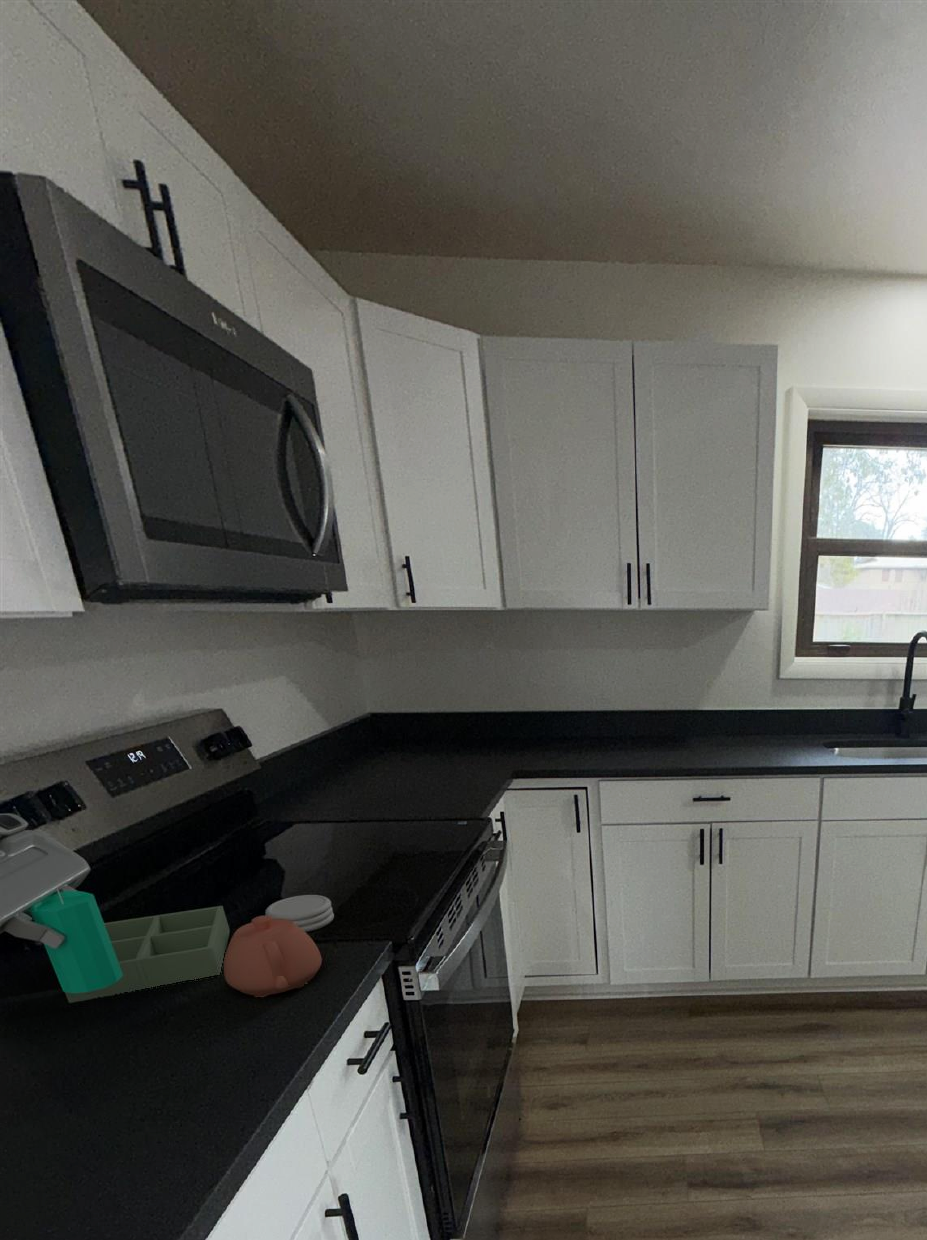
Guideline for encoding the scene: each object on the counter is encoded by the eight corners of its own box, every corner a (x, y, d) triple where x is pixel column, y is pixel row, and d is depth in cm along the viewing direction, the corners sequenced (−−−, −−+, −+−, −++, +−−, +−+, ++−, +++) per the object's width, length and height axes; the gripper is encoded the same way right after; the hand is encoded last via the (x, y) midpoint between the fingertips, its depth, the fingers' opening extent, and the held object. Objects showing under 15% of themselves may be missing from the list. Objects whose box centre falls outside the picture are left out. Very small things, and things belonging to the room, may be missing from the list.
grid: (69, 1003, 103) (57, 973, 101) (97, 952, 117) (87, 925, 116) (220, 975, 110) (212, 947, 108) (229, 931, 125) (222, 905, 123)
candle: (67, 976, 91) (30, 883, 86) (127, 965, 93) (94, 875, 88) (56, 997, 86) (15, 901, 81) (119, 986, 88) (84, 891, 83)
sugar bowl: (316, 956, 116) (302, 895, 111) (335, 992, 105) (320, 926, 101) (225, 978, 109) (206, 913, 105) (236, 1018, 99) (215, 949, 94)
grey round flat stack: (255, 931, 124) (250, 912, 123) (300, 909, 133) (296, 891, 132) (304, 938, 122) (299, 918, 120) (347, 915, 130) (343, 897, 129)
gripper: (-115, 866, 71) (37, 951, 77) (24, 809, 90) (139, 881, 95) (-147, 912, 73) (5, 992, 78) (-3, 847, 91) (112, 915, 97)
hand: (79, 930), depth 87 cm, fingers closed on candle, 5 cm apart
